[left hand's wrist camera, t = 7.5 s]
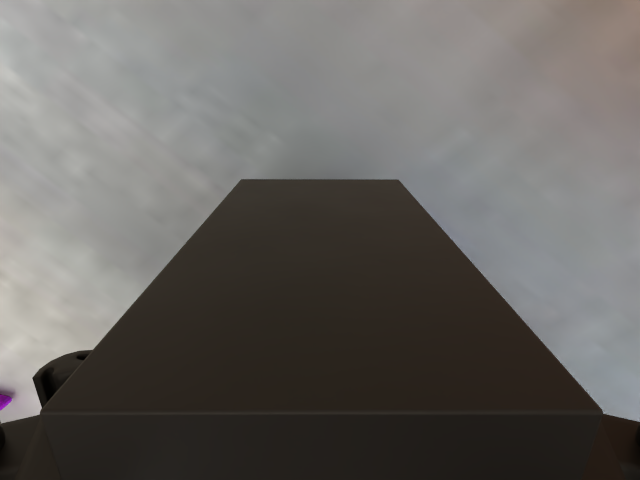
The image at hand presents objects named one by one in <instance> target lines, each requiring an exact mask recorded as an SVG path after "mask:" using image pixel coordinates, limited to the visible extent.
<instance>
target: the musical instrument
mask: <svg viewBox="0 0 640 480" xmlns="http://www.w3.org/2000/svg"><path fill="white" fill-rule="evenodd" d="M11 400H12V398H11V397H9V396H5V395H0V410H2V409H3V408H4V407H5V406H7V405H8V404H9V403H10V402H11Z"/></svg>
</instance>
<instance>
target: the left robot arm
mask: <svg viewBox="0 0 640 480" xmlns="http://www.w3.org/2000/svg"><path fill="white" fill-rule="evenodd" d="M92 351H93V350H85V351H77V352H73V353H70V354H66V355H63V356H61V357H59V358H57V359H54V360H52V361H50V362H49V363H48V364H46V365H45V366H43V367H42V368H41V369H39V371H38V372H37V373H36V374H35V375H34V377H33V381H34V384H35V388H36V391H37V394H38V397H39V400H40V403H41V406H42V408H43V407H44V406H45V405H46V403H47V402H48V401H49V400H50V399H51V398H52V397H53V395H54V394H55V393H56V392H57V391H58V390H59V388H60V387H61V386H62V385H63V384H64V383H65V382H66V380H67V379H68V378H69V377H70V376H71V375H72V374H73V372H74V371H75V370H76V369H77V368H78V367H79V365H80V364H81V363H82V362H83V361H84V360H85V359H86V357H87V356H88V355H89V354H90V353H91V352H92ZM0 480H61V478H60V475H59V472H58V469H57V466H56V463H55V460H54V457H53V453H52V450H51V447H50V444H49V441H48V438H47V435H46V432H45V429H44V426H43V422H42V419H41V416H40V415H37V416H33V417H28V418H24V419H20V420H15V421H11V422H6V423H2V424H1V422H0ZM582 480H640V422H637V421H633V420H628V419H624V418H619V417H615V416H610V415H606V414H603V416H602V419H601V422H600V425H599V428H598V431H597V434H596V437H595V440H594V443H593V446H592V449H591V452H590V455H589V459H588V462H587V465H586V468H585V471H584V474H583V477H582Z"/></svg>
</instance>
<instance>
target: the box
mask: <svg viewBox="0 0 640 480" xmlns="http://www.w3.org/2000/svg"><path fill="white" fill-rule="evenodd" d="M40 416H41V419H42V422H43V426H44V429H45V432H46V435H47V438H48V441H49V444H50V447H51V450H52V453H53V457H54V460H55V463H56V466H57V469H58V472H59V475H60V478H61V480H582V477H583V474H584V471H585V468H586V465H587V462H588V459H589V455H590V452H591V449H592V446H593V443H594V440H595V437H596V434H597V431H598V428H599V425H600V422H601V419H602V416H603V411H602V409H601V408H600V407H599V406H598V405H597V404H596V402H595V401H594V400H593V399H592V398H591V397H590V396H589V394H588V393H587V392H586V391H585V390H584V389H583V388H582V387H581V385H580V384H579V383H578V382H577V381H576V380H575V379H574V378H573V376H572V375H571V374H570V373H569V372H568V371H567V370H566V369H565V367H564V366H563V365H562V364H561V363H560V362H559V361H558V359H557V358H556V357H555V356H554V355H553V354H552V353H551V352H550V350H549V349H548V348H547V347H546V346H545V345H544V344H543V343H542V341H541V340H540V339H539V338H538V337H537V336H536V335H535V334H534V332H533V331H532V330H531V329H530V328H529V327H528V326H527V324H526V323H525V322H524V321H523V320H522V319H521V318H520V317H519V315H518V314H517V313H516V312H515V311H514V310H513V309H512V308H511V306H510V305H509V304H508V303H507V302H506V301H505V300H504V298H503V297H502V296H501V295H500V294H499V293H498V292H497V291H496V289H495V288H494V287H493V286H492V285H491V284H490V283H489V282H488V280H487V279H486V278H485V277H484V276H483V275H482V274H481V273H480V271H479V270H478V269H477V268H476V267H475V266H474V265H473V263H472V262H471V261H470V260H469V259H468V258H467V257H466V256H465V254H464V253H463V252H462V251H461V250H460V249H459V248H458V247H457V245H456V244H455V243H454V242H453V241H452V240H451V239H450V238H449V236H448V235H447V234H446V233H445V232H444V231H443V230H442V228H441V227H440V226H439V225H438V224H437V223H436V222H435V221H434V219H433V218H432V217H431V216H430V215H429V214H428V213H427V212H426V210H425V209H424V208H423V207H422V206H421V205H420V204H419V202H418V201H417V200H416V199H415V198H414V197H413V196H412V195H411V193H410V192H409V191H408V190H407V189H406V188H405V187H404V186H403V184H402V183H401V182H400V181H399V180H293V179H242V180H240V182H239V183H238V184H237V185H236V186H235V187H234V189H233V190H232V191H231V192H230V193H229V194H228V195H227V197H226V198H225V199H224V200H223V201H222V202H221V203H220V205H219V206H218V207H217V208H216V209H215V210H214V211H213V213H212V214H211V215H210V216H209V217H208V218H207V220H206V221H205V222H204V223H203V224H202V225H201V226H200V228H199V229H198V230H197V231H196V232H195V233H194V234H193V236H192V237H191V238H190V239H189V240H188V241H187V243H186V244H185V245H184V246H183V247H182V248H181V249H180V251H179V252H178V253H177V254H176V255H175V256H174V257H173V259H172V260H171V261H170V262H169V263H168V264H167V265H166V267H165V268H164V269H163V270H162V271H161V272H160V274H159V275H158V276H157V277H156V278H155V279H154V280H153V282H152V283H151V284H150V285H149V286H148V287H147V288H146V290H145V291H144V292H143V293H142V294H141V295H140V297H139V298H138V299H137V300H136V301H135V302H134V303H133V305H132V306H131V307H130V308H129V309H128V310H127V311H126V313H125V314H124V315H123V316H122V317H121V318H120V320H119V321H118V322H117V323H116V324H115V325H114V326H113V328H112V329H111V330H110V331H109V332H108V333H107V334H106V336H105V337H104V338H103V339H102V340H101V341H100V342H99V344H98V345H97V346H96V347H95V348H94V349H93V351H92V352H91V353H90V354H89V355H88V356H87V357H86V359H85V360H84V361H83V362H82V363H81V364H80V365H79V367H78V368H77V369H76V370H75V371H74V372H73V374H72V375H71V376H70V377H69V378H68V379H67V380H66V382H65V383H64V384H63V385H62V386H61V387H60V388H59V390H58V391H57V392H56V393H55V394H54V395H53V397H52V398H51V399H50V400H49V401H48V402H47V403H46V405H45V406H44V407H43V408H42V409H41V411H40Z"/></svg>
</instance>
